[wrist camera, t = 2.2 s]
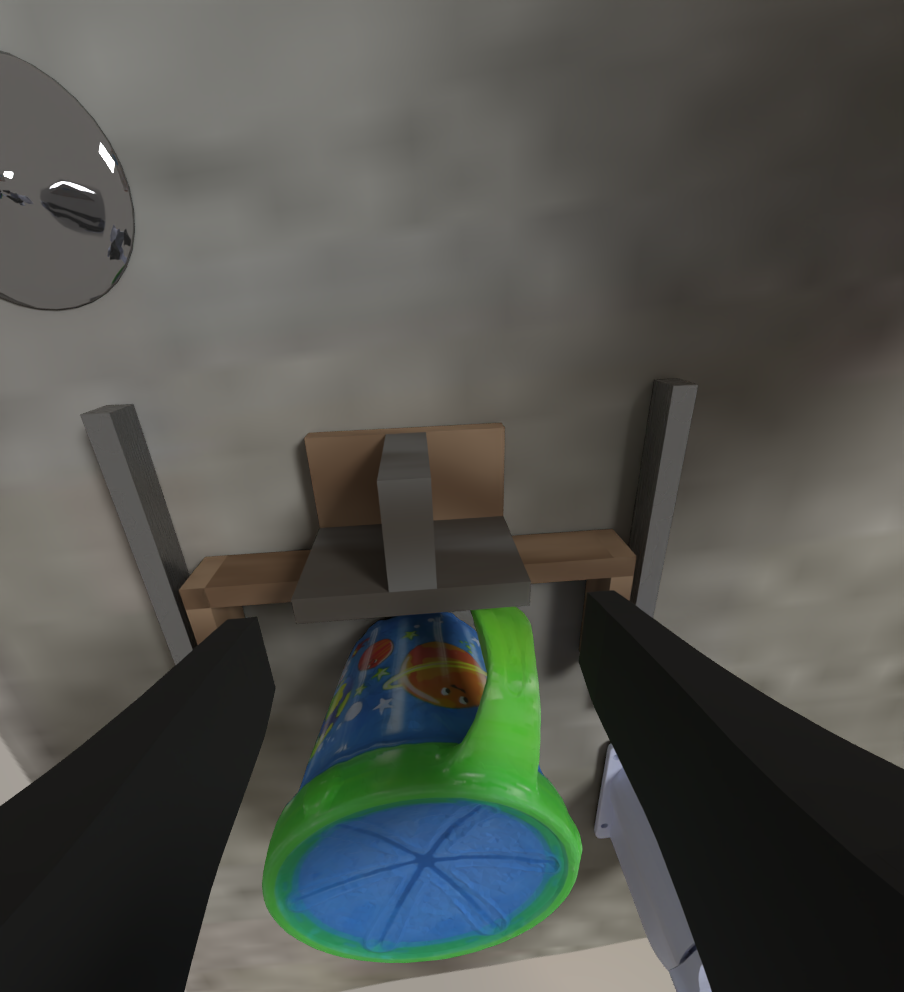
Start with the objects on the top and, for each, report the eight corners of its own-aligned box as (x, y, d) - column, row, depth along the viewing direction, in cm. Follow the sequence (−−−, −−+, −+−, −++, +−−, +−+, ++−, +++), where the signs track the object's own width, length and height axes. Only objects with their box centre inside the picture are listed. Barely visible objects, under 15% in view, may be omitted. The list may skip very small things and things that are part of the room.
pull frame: (596, 648, 24) (647, 745, 19) (242, 679, 23) (192, 792, 18) (627, 416, 19) (710, 461, 14) (169, 440, 18) (67, 499, 12)
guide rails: (622, 690, 26) (634, 712, 25) (220, 728, 24) (208, 753, 23) (677, 378, 19) (698, 384, 17) (106, 405, 17) (80, 414, 16)
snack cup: (432, 774, 28) (442, 1014, 18) (269, 724, 25) (184, 979, 15) (583, 592, 23) (701, 792, 14) (403, 502, 20) (396, 679, 11)
